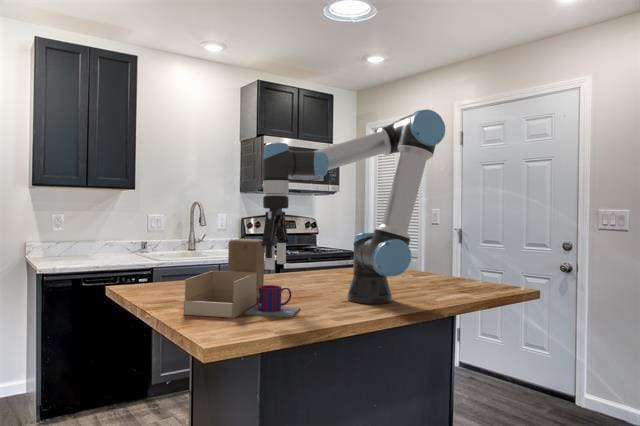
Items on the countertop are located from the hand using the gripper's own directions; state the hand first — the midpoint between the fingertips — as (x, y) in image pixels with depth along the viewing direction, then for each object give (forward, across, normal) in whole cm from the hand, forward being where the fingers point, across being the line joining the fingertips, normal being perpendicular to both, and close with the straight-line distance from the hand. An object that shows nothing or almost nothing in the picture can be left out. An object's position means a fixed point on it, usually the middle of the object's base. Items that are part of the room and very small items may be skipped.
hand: (275, 266), depth 139 cm
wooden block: (+14, -19, -16) cm, 28 cm away
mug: (+13, 0, 0) cm, 13 cm away
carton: (+13, 0, -17) cm, 21 cm away
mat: (+14, 0, -1) cm, 14 cm away
